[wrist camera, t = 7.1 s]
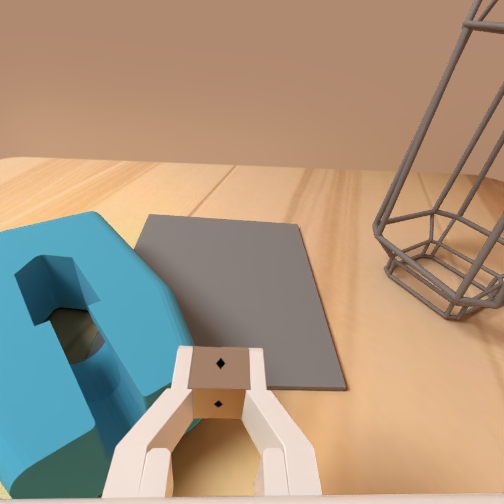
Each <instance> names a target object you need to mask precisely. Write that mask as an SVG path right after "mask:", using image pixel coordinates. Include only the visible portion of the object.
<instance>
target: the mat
mask: <svg viewBox="0 0 504 504" xmlns="http://www.w3.org/2000/svg"><path fill="white" fill-rule="evenodd" d="M134 251H135V252H136V253H137V254H138V255H139V256H140V257H141V258H142V259H143V260H144V261H145V263H146V264H147V265H148V266H149V267H150V268H151V269H152V270H153V271H154V272H155V273H156V274H157V275H158V276H159V277H160V278H161V279H162V280H163V281H164V282H165V284H166V285H167V286H168V287H169V288H170V289H171V290H172V291H173V293H174V295H175V298H176V300H177V303H178V305H179V307H180V310H181V312H182V315H183V317H184V320H185V322H186V325H187V327H188V330H189V332H190V334H191V337H192V339H193V342H194V344H195V346H201V347H220V348H221V347H248V348H262V349H263V351H264V362H265V373H266V385H267V389H280V390H331V391H345V389H346V385H345V381H344V378H343V375H342V371H341V368H340V365H339V361H338V358H337V355H336V351H335V348H334V345H333V341H332V338H331V335H330V331H329V328H328V325H327V321H326V318H325V315H324V311H323V308H322V305H321V301H320V298H319V295H318V291H317V288H316V285H315V282H314V278H313V275H312V272H311V268H310V265H309V262H308V258H307V255H306V252H305V248H304V245H303V242H302V238H301V235H300V232H299V228H298V225H297V224H286V223H272V222H257V221H243V220H228V219H213V218H199V217H184V216H170V215H155V214H149V216H148V218H147V221H146V223H145V225H144V227H143V230H142V232H141V234H140V237H139V239H138V241H137V244H136V246H135V248H134ZM104 343H105V340H104V338H103V337H102V335H101V333H100V332H99V331H98V333H97V335H96V337H95V340H94V342H93V344H92V347H91V349H90V351H89V353H88V356H87V358H86V359H88V358H90V357H91V356H93V355H94V354H95V353H97V352H98V351H99V350H100V349H101V348H102V346H103V345H104Z"/></svg>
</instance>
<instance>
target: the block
mask: <svg viewBox="0 0 504 504" xmlns="http://www.w3.org/2000/svg"><path fill="white" fill-rule="evenodd" d="M60 307H64V308H74V309H84V310H88V312H89V314H90V315H91V318H92V320H93V322H94V323H95V325H96V327H97V328H98V330H99V332H100V333H101V335H102V337H103V338H104V340H105V343H104V345H103V346H102V348H101V349H100V350H99V351H98V352H97V353H95V354H94V355H93V356H91V357H90V358H88V359H86V360H84V361H82V362H79V363H76V364H70V365H69V362H68V360H67V358H66V356H65V353H64V351H63V349H62V347H61V345H60V342H59V340H58V338H57V336H56V333H55V331H54V329H53V327H52V324H51V322H50V321H47V322H45V323H43V322H44V321H45V320H46V319H47V317H48V316H49V315H50V314H51V313H52V312H53V311H54V310H55V309H57V308H60ZM179 346H195V344H194V342H193V339H192V337H191V334H190V332H189V330H188V327H187V325H186V322H185V320H184V317H183V315H182V312H181V310H180V307H179V305H178V303H177V300H176V298H175V295H174V293H173V291H172V290H171V289H170V288H169V287H168V286H167V285H166V284H165V282H164V281H163V280H162V279H161V278H160V277H159V276H158V275H157V274H156V273H155V272H154V271H153V270H152V269H151V268H150V267H149V266H148V265H147V264H146V263H145V261H144V260H143V259H142V258H141V257H140V256H139V255H138V254H137V253H136V252H135V251H134V250H133V249H132V248H131V247H130V246H129V245H128V244H127V243H126V242H125V241H124V239H123V238H122V237H121V236H120V235H119V234H118V233H117V232H116V231H115V230H114V229H113V228H112V227H111V226H110V225H109V224H108V223H107V222H106V221H105V220H104V218H103V217H102V216H101V215H100V214H98V213H97V212H93V211H91V212H85V213H81V214H76V215H72V216H68V217H63V218H59V219H55V220H50V221H46V222H41V223H37V224H33V225H28V226H24V227H19V228H15V229H11V230H6V231H2V232H0V482H1V483H2V485H3V486H4V487H5V489H6V490H7V492H8V493H9V495H10V496H11V497H12V499H56V498H96V497H98V496H99V495H101V494H102V493H103V490H104V487H105V483H106V480H107V476H108V473H109V469H110V466H111V462H112V458H113V455H114V451H115V448H116V446H117V445H118V444H119V442H120V441H121V440H122V439H123V438H124V437H125V436H126V434H127V433H128V432H129V431H130V430H131V429H132V428H133V426H134V425H135V424H136V423H137V422H138V421H139V420H140V418H141V417H142V416H143V415H144V414H145V413H146V412H147V410H148V409H149V408H150V407H151V406H152V405H153V404H154V402H155V401H156V400H157V399H158V398H159V397H160V396H161V394H162V393H163V392H164V391H165V390H166V389H167V388H171V386H172V380H173V374H174V368H175V363H176V357H177V351H178V348H179ZM202 419H203V418H193V421H192V422H191V424H190V425H189V427H188V428H187V430H186V431H185V433H184V434H186V433H187V432H189V431H190V430H191V429H193V428H194V427H195V426H196V425H197V424H198V423H199V422H200V421H201V420H202ZM184 434H183V435H184Z"/></svg>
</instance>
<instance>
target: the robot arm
mask: <svg viewBox="0 0 504 504" xmlns="http://www.w3.org/2000/svg"><path fill="white" fill-rule="evenodd" d="M217 417H218V418H229V419H242V422H243V424H244V426H245V428H246V429H247V431H248V433H249V435H250V437H251V439H252V440H253V442H254V444H255V446H256V448H257V450H258V451H259V453H260V455H261V461H260V464H259V468H258V472H257V475H256V479H255V482H254V496H207V497H172V495H173V487H174V483H173V473H172V462H171V453H172V451H173V450H174V448H175V447H176V445H177V444H178V442H179V441H180V439H181V437H182V436H183V434H184V433H185V431H186V430H187V428H188V427H189V425H190V424H191V422H192V421H193V418H217ZM0 504H504V493H438V494H361V495H322V490H321V485H320V479H319V474H318V468H317V463H316V457H315V452H314V447H313V446H312V444H311V443H310V442H309V440H308V439H307V438H306V436H305V435H304V434H303V432H302V431H301V430H300V428H299V427H298V426H297V424H296V423H295V422H294V420H293V419H292V418H291V416H290V415H289V414H288V412H287V411H286V410H285V408H284V407H283V406H282V404H281V403H280V402H279V400H278V399H277V398H276V396H275V395H274V394H273V392H272V391H271V390H267V385H266V373H265V362H264V351H263V349H262V348H248V347H221V348H220V347H201V346H179V348H178V351H177V357H176V363H175V368H174V374H173V380H172V386H171V388H167V389H166V390H165V391H164V392H163V393H162V394H161V396H160V397H159V398H158V399H157V400H156V401H155V402H154V404H153V405H152V406H151V407H150V408H149V409H148V410H147V412H146V413H145V414H144V415H143V416H142V417H141V418H140V420H139V421H138V422H137V423H136V424H135V425H134V426H133V428H132V429H131V430H130V431H129V432H128V433H127V434H126V436H125V437H124V438H123V439H122V440H121V441H120V442H119V444H118V445H117V446H116V448H115V451H114V455H113V458H112V462H111V466H110V469H109V473H108V476H107V480H106V483H105V487H104V490H103V494H102V497H101V498H56V499H0Z"/></svg>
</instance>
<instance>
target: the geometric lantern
mask: <svg viewBox="0 0 504 504" xmlns="http://www.w3.org/2000/svg"><path fill="white" fill-rule="evenodd" d="M497 1H498V0H492V2H491V3H490V4H489V5H488V7H487V8H486V10H485V11H484V12H483V14H482V15H481V16H480V17H479V19H478V20H477V21H473V19H474V17H475V15H476V13H477V11H478V8H479V6H480V4H481V2H482V0H475V1H474V3H473V5H472V7H471V9H470V11H469V13H468V16H467V18H466V20H465V21H464V22H463V26H462V32H461V35H460V37H459V39H458V42H457V44H456V46H455V49H454V51H453V54H452V56H451V58H450V60H449V63H448V65H447V68H446V70H445V72H444V75H443V77H442V79H441V81H440V83H439V85H438V87H437V90H436V92H435V94H434V96H433V98H432V100H431V102H430V104H429V106H428V109H427V111H426V113H425V115H424V117H423V119H422V121H421V123H420V125H419V127H418V130H417V132H416V134H415V136H414V138H413V140H412V142H411V144H410V146H409V149H408V151H407V153H406V155H405V157H404V159H403V161H402V163H401V165H400V167H399V170H398V172H397V174H396V176H395V178H394V180H393V182H392V184H391V187H390V189H389V191H388V193H387V195H386V197H385V199H384V201H383V204H382V206H381V208H380V210H379V212H378V214H377V216H376V218H375V221H374V223H373V226H372V227H373V232H374V236H375V238H376V239H377V240H378V241H379V242H380V244H381V245H382V247H383V248H384V250H385V251H386V253H387V254H388V256H389V257H390V259H389V261H388V263H387V265H386V266H385V267H384V270H385V272H386V274H387V276H388V277H390V278H391V279H392V280H394V281H395V282H397V283H398V284H399V285H401V286H402V287H403V288H405V289H406V290H407V291H409V292H410V293H411V294H413V295H414V296H416V297H417V298H418V299H420V300H421V301H422V302H424V303H425V304H426V305H428V306H429V307H430V308H432V309H433V310H434V311H436V312H437V313H439V314H440V315H441V316H443V317H444V318H447V319H457V320H460V319H461V318H463V317H465V316H466V315H468V314H470V313H472V312H474V311H475V310H477V309H479V308H481V307H486V308H493V309H498V308H500V307H503V306H504V281H503V278H504V274H502V275H499V274H497V273H495V272H494V271H492V270H490V269H488V268H486V267H485V266H483V265H482V264H483V263H484V261H485V259H486V258H487V256H488V254H489V253H490V251H491V250H492V248H493V246H494V245H495V243H496V241H497V242H499V243H501V244H503V245H504V239H503V238H501V237H500V235H501V233H502V232H503V230H504V212H503V214H502V215H501V217H500V219H499V220H498V222H497V224H496V226H495V227H494V229H493V231H492V232H490V231H488V230H486V229H484V228H482V227H480V226H479V225H477V224H475V223H473V222H471V221H469V220H467V219H465V218H463V217H462V216H463V214H464V212H465V210H466V209H467V207H468V205H469V204H470V202H471V200H472V198H473V197H474V195H475V193H476V191H477V189H478V188H479V186H480V184H481V182H482V181H483V179H484V177H485V175H486V174H487V172H488V170H489V168H490V167H491V165H492V163H493V161H494V159H495V158H496V156H497V154H498V152H499V151H500V149H501V147H502V145H503V144H504V131H503V133H502V135H501V136H500V138H499V140H498V142H497V144H496V145H495V147H494V149H493V151H492V153H491V154H490V156H489V158H488V160H487V162H486V163H485V165H484V167H483V169H482V171H481V173H480V174H479V176H478V178H477V180H476V181H475V183H474V185H473V187H472V189H471V190H470V192H469V194H468V196H467V198H466V200H465V201H464V203H463V205H462V207H461V209H460V210H459V212H458V214H457V215H456V214H452V213H449V212H445V211H441V210H438V209H439V207H440V205H441V204H442V202H443V200H444V199H445V197H446V195H447V193H448V192H449V190H450V188H451V187H452V185H453V183H454V181H455V180H456V178H457V176H458V174H459V173H460V171H461V169H462V167H463V165H464V164H465V162H466V160H467V158H468V157H469V155H470V153H471V151H472V150H473V148H474V146H475V144H476V142H477V141H478V139H479V137H480V136H481V134H482V132H483V130H484V129H485V126H486V125H487V123H488V121H489V120H490V118H491V116H492V114H493V113H494V111H495V109H496V107H497V106H498V104H499V102H500V100H501V99H502V97H503V95H504V82H503V84H502V86H501V88H500V89H499V91H498V93H497V95H496V97H495V98H494V100H493V102H492V104H491V106H490V107H489V109H488V111H487V113H486V115H485V116H484V118H483V120H482V122H481V123H480V125H479V127H478V129H477V131H476V133H475V134H474V136H473V138H472V140H471V141H470V143H469V145H468V147H467V149H466V151H465V152H464V154H463V156H462V158H461V159H460V161H459V163H458V165H457V167H456V168H455V170H454V172H453V174H452V176H451V177H450V179H449V181H448V183H447V185H446V186H445V188H444V190H443V192H442V193H441V195H440V197H439V199H438V200H437V202H436V204H435V206H434V207H433V209H432V210H428V211H423V212H419V213H414V214H409V215H405V216H400V217H395V218H390V219H389V216H390V214H391V212H392V210H393V207H394V205H395V203H396V200H397V198H398V196H399V194H400V191H401V189H402V187H403V184H404V182H405V180H406V178H407V175H408V173H409V171H410V169H411V166H412V164H413V162H414V159H415V157H416V155H417V153H418V150H419V148H420V145H421V143H422V141H423V139H424V136H425V134H426V132H427V130H428V127H429V125H430V123H431V121H432V118H433V116H434V114H435V112H436V109H437V107H438V105H439V102H440V100H441V98H442V95H443V93H444V91H445V89H446V86H447V84H448V82H449V79H450V77H451V75H452V73H453V71H454V68H455V66H456V64H457V62H458V60H459V58H460V56H461V54H462V52H463V49H464V47H465V45H466V43H467V41H468V39H469V37H470V35H471V33H472V31H473V30H476V31H483V32H491V33H499V34H504V23H499V22H485V21H483V19H484V18H485V17H486V15H487V14H488V13H489V12H490V10H491V9H492V8H493V6H494V5H495V4H496V2H497ZM385 210H386V211H385ZM384 212H385V213H384ZM383 214H384V215H383ZM434 214H438V215H441V216H445V217H449V218H452V220H451V222H450V224H449V225H448V227H447V228H446V230H445V231H444V233H443V234H442V236H441V237H440V239H439V240H438V241H434V240H433V227H434ZM427 215H430V236H429V240H426V241H424V242H421V243H419V244H416V245H414V246H411V247H409V248H406V249H404V250H400V249H398V248H397V247H396V246H394V245H393V244H392V243H390V242H389V241H388V240H387V239H385V238H384V237H383V235H382V232H383V230H384V228H385V226H386V225H387V224H391V223H396V222H400V221H405V220H409V219H414V218H418V217H423V216H427ZM382 216H383V218H382ZM381 218H382V220H381ZM380 220H381V221H380ZM456 220H458V221H460V222H462V223H464V224H466V225H468V226H469V227H471V228H473V229H475V230H477V231H479V232H481V233H482V234H484V235H486V236H488V239H487V241H486V242H485V244H484V246H483V247H482V249H481V251H480V252H479V254H478V256H477V257H476V259H475V261H474V260H472V259H470V258H468V257H466V256H464V255H463V254H461V253H459V252H457V251H455V250H454V249H452V248H450V247H448V246H446V245H444V244H443V243H441V242H442V241H443V239H444V238H445V236H446V235H447V233H448V231H449V230H450V228H451V227H452V225H453V224H454V222H455V221H456ZM378 226H379V227H378ZM430 243H433V244H436V247H435V248H434V250H433V252H432V253H431V255H427V254H425V253H426V251H427V249H428V247H429V244H430ZM425 244H426V245H425ZM423 245H425V247H424V249H423V251H422V253H421V254H419V255H416V256H413V257H409V256H407V255H406V254H405V253H406V252H408V251H411V250H413V249H416V248H418V247H420V246H423ZM440 246H441V247H443V248H445V249H446V250H448V251H450V252H452V253H454V254H455V255H457V256H459V257H461V258H462V259H464V260H466V261H468V262H470V263H471V264H472V266H471V268H470V269H469V271H468V273H467V274H466V275H464V274H463V273H461V272H459V271H458V270H456V269H455V268H453V267H451V266H450V265H448V264H446V263H445V262H443V261H441V260H440V259H438V258H436V257H435V256H434V255H435V253H436V252H437V250H438V248H439V247H440ZM392 251H393V252H394V254H393V253H392ZM396 256H399V257H400V258H401V259H403V260H402V261H398V260H397V259H395V257H396ZM420 257H426V258H432V259H433V260H435V261H437V262H438V263H440V264H441V265H443V266H445V267H446V268H448V269H450V270H451V271H453V272H454V273H456V274H458V275H459V276H461V277H463V278H464V279H463V281H462V283H461V285H460V286H459V288H458V290H457V291H456V292H455V291H453V290H452V289H451V288H449V287H448V286H447V285H445V284H444V283H443V282H441V281H440V280H439V279H438V278H436V277H435V276H434V275H432V274H431V273H430V272H428V271H427V270H426V269H424V268H423V267H422V266H421V265H419V264H418V263H417V262H415V261H414V259H417V258H420ZM406 262H407V263H408V264H409V265H410V266H412V267H413V268H414V269H415V270H417V271H418V272H419V273H421V274H422V275H423V276H424V277H426V278H427V279H428V280H429V281H431V282H432V283H433V284H435V285H436V286H437V287H438V288H440V289H441V290H442V291H443V292H442V291H441V290H439V289H438V288H437V287H435V286H434V285H432V284H431V283H429V282H428V281H427V280H425V279H424V278H422V277H421V276H419V275H418V274H417V273H415V272H414V271H412V270H411V269H410V268H408V267H407V266H405V265H404V264H403V263H406ZM391 263H392V264H391ZM397 265H399V266H400V267H401V268H403V269H404V270H406V271H407V272H408V273H410V274H411V275H413V276H414V277H415V278H417V279H418V280H420V281H421V282H422V283H424V284H425V285H427V286H428V287H429V288H431V289H432V290H434V291H435V292H437V293H438V294H439V295H441V296H442V297H444V298H445V299H446V300H448V301H449V302H451V303H450V304H449V306H448V308H447V310H446V312H445V313H444V312H443V311H441V310H440V309H439V308H437V307H436V306H434V305H433V304H432V303H430V302H429V301H428V300H426V299H425V298H423V297H422V296H421V295H419V294H418V293H417V292H415V291H414V290H412V289H411V288H410V287H408V286H407V285H406V284H404V283H403V282H401V281H400V280H399V279H397V278H396V277H395V276H393V275H392V272H393V269H394V267H395V266H397ZM389 268H390V269H389ZM388 269H389V270H388ZM479 269H482V270H484V271H486V272H488V273H489V274H491V275H493V276H495V277H494V278H493V280H492V281H491V283H490V284H489V285H488V287H487V288H486V287H484V286H483V285H481V284H479V283H478V282H476V281H474V280H473V279H474V277H475V276H476V274H477V272H478V271H479ZM497 280H498V281H499V283H498V284H496V285H495V286H494V284H495V283H496V282H497ZM471 283H472V284H474V285H476V286H477V287H479V288H480V289H482V290H484V292H482V293H480V294H479V295H477V296H475V297H473V298H468V297H463V295H464V294H465V292H466V290H467V289H468V287H469V286H470V284H471ZM493 291H494V292H493ZM444 292H445V293H446V294H445V293H444ZM491 292H493V293H491ZM448 295H449V296H450V297H449V296H448ZM486 295H488V296H489V297H490V298H488V299H487V300H481V298H482V297H484V296H486ZM496 295H497V296H496ZM493 300H494V301H493ZM454 305H456V306H463V307H462V309H461V310H460V312H459V313H458V315H450V313H451V311H452V309H453V307H454ZM472 306H474V307H472ZM468 307H472V308H470V309H468ZM467 309H468V310H467Z"/></svg>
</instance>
